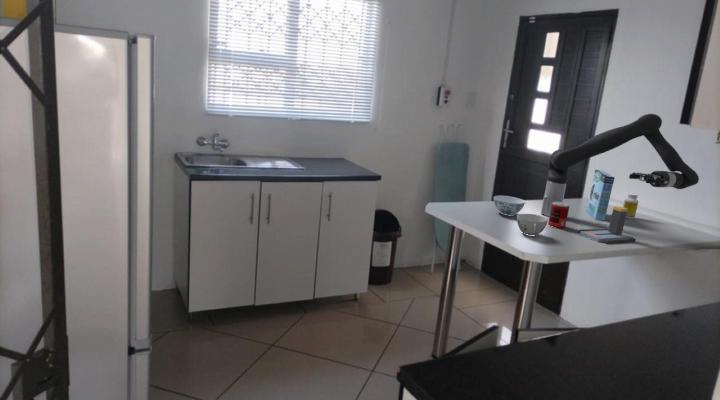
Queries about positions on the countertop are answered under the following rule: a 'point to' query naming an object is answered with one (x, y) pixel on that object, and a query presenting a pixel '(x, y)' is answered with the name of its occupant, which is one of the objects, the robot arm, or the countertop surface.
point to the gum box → (600, 195)
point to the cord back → (592, 230)
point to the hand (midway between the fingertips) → (638, 178)
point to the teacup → (531, 223)
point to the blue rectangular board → (603, 235)
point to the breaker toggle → (617, 219)
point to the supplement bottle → (631, 205)
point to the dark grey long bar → (619, 240)
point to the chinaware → (508, 204)
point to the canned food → (558, 214)
